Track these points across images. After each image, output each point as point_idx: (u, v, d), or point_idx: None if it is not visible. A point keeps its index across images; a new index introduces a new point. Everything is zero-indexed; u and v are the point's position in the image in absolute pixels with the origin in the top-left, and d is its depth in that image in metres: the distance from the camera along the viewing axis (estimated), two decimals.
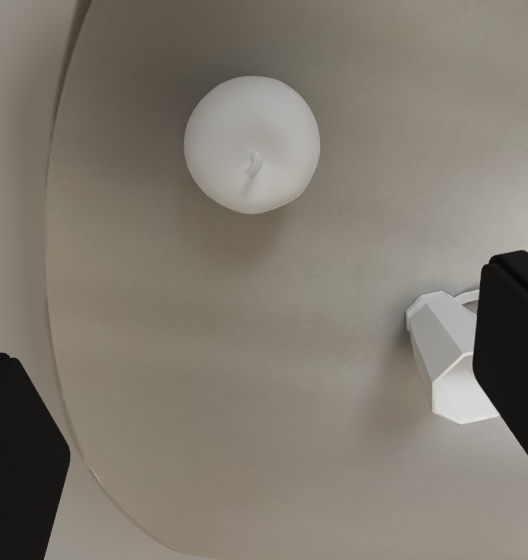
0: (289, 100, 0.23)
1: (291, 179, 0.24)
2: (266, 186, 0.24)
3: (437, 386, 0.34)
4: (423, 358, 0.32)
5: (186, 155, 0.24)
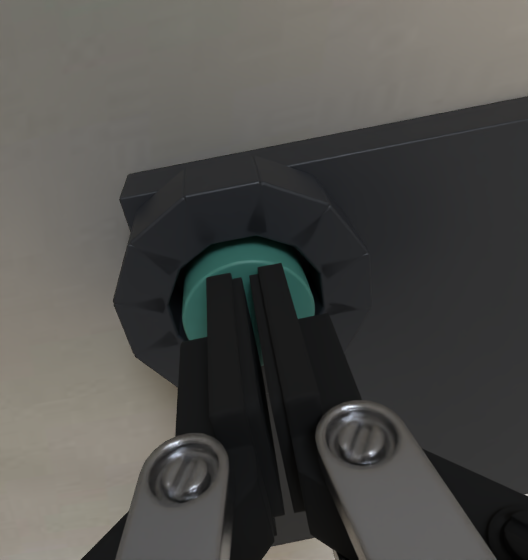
0: None
1: None
2: None
3: None
4: None
5: None
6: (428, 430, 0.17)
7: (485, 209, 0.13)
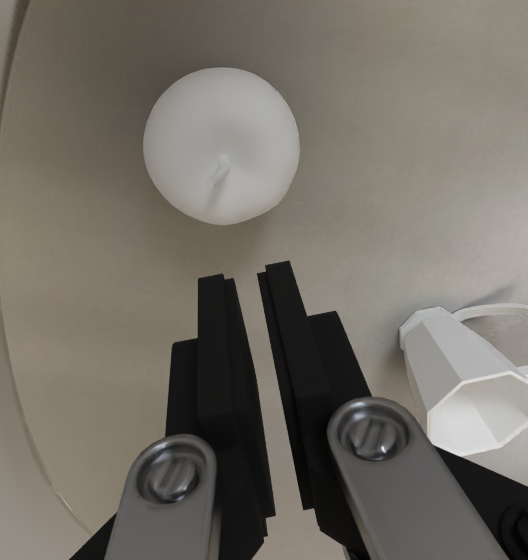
0: (262, 95, 0.20)
1: (265, 186, 0.21)
2: (237, 194, 0.21)
3: (433, 413, 0.31)
4: (417, 383, 0.29)
5: (145, 158, 0.21)
6: None
7: None
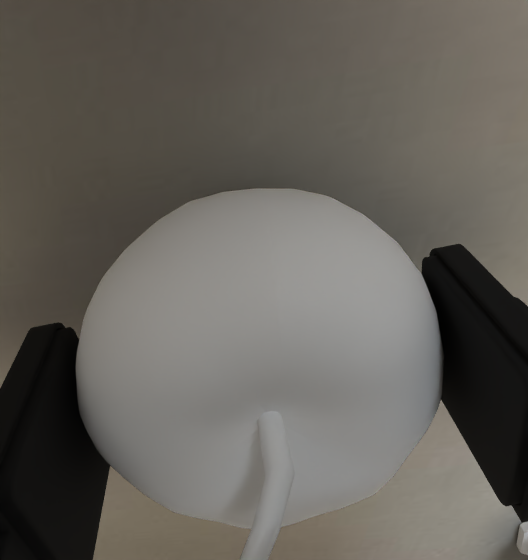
0: (378, 281, 0.07)
1: (372, 477, 0.09)
2: (302, 496, 0.09)
3: None
4: None
5: None
6: None
7: None
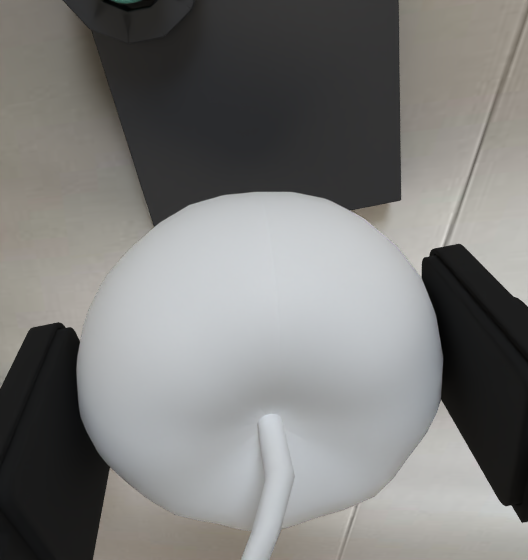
0: (378, 285, 0.07)
1: (371, 480, 0.09)
2: (302, 498, 0.09)
3: None
4: None
5: (80, 411, 0.09)
6: (280, 128, 0.25)
7: None
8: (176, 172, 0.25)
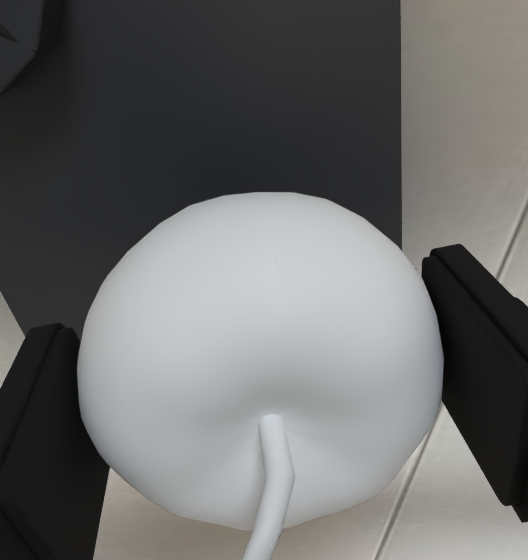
0: (379, 286, 0.07)
1: (372, 480, 0.09)
2: (302, 499, 0.09)
3: None
4: None
5: (81, 411, 0.09)
6: None
7: None
8: (61, 287, 0.17)
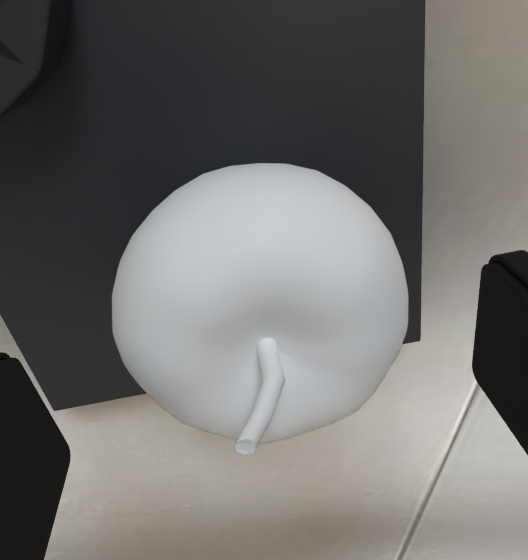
0: (351, 231, 0.10)
1: (349, 394, 0.11)
2: (292, 409, 0.11)
3: None
4: None
5: (114, 338, 0.11)
6: None
7: None
8: (64, 312, 0.16)
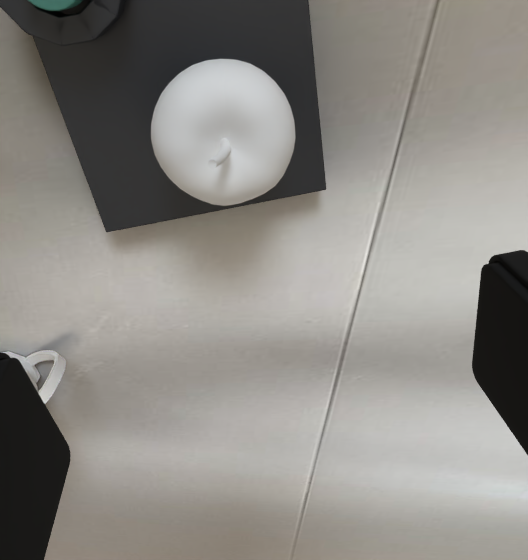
0: (260, 83, 0.22)
1: (264, 168, 0.23)
2: (237, 175, 0.23)
3: None
4: None
5: (153, 143, 0.23)
6: None
7: None
8: (116, 162, 0.28)
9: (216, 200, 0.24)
